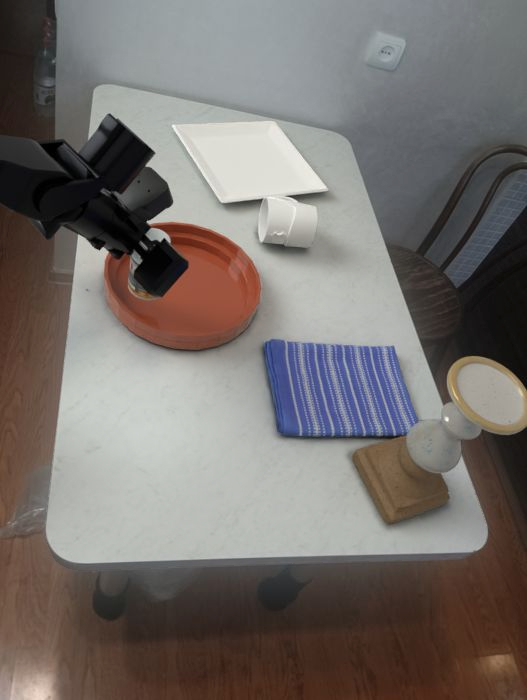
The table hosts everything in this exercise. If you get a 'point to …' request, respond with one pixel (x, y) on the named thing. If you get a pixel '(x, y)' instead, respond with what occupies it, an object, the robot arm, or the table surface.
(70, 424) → the table surface
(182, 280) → the bowl
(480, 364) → the candle holder
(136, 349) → the table surface
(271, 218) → the mug
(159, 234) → the pill bottle
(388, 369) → the dish towel
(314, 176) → the plate
